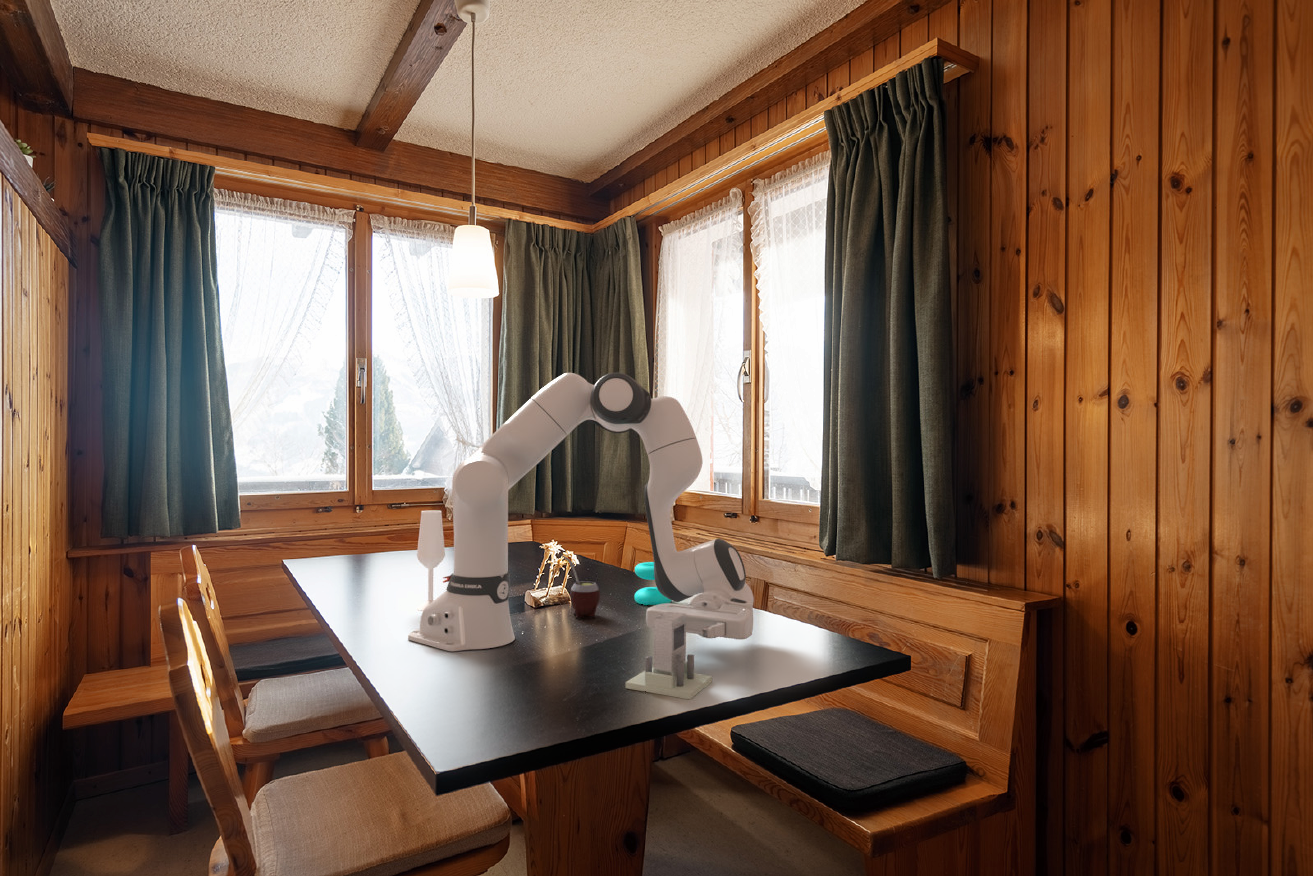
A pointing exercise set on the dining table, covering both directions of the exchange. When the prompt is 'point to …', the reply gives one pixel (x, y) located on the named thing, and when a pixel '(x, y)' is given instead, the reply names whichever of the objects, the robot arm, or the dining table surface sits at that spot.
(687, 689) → the peg board
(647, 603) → the donuts
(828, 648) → the dining table surface
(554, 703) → the dining table surface
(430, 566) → the champagne flute
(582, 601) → the mate gourd
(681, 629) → the block
